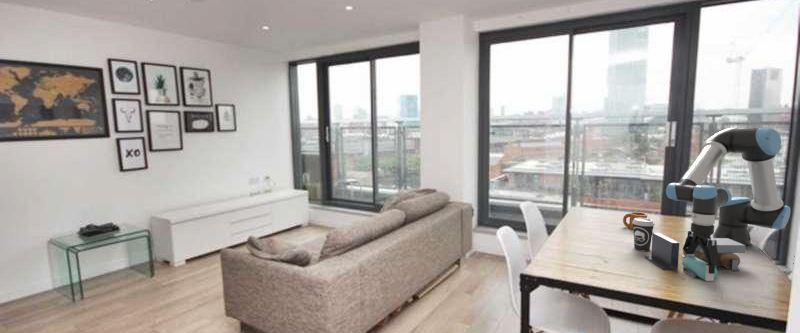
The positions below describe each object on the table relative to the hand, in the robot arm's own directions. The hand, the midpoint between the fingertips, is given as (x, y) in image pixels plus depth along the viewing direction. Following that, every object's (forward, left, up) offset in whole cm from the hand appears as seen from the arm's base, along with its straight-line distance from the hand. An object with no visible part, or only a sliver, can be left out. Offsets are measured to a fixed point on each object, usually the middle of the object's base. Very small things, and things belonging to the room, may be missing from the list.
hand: (698, 274), depth 163 cm
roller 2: (0, 0, 0) cm, 0 cm away
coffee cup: (+6, -33, 0) cm, 34 cm away
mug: (-9, -71, 0) cm, 72 cm away
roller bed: (-7, -9, 0) cm, 12 cm away
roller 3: (-17, -13, 0) cm, 21 cm away
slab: (-14, -13, +7) cm, 20 cm away
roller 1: (-9, -13, 0) cm, 16 cm away
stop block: (+8, -13, 0) cm, 15 cm away
